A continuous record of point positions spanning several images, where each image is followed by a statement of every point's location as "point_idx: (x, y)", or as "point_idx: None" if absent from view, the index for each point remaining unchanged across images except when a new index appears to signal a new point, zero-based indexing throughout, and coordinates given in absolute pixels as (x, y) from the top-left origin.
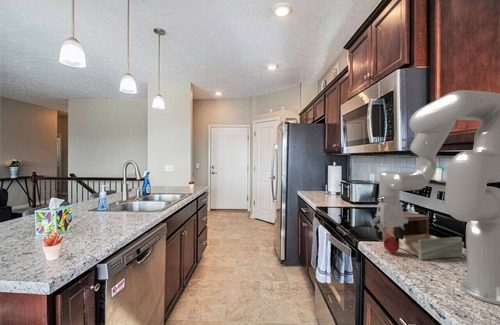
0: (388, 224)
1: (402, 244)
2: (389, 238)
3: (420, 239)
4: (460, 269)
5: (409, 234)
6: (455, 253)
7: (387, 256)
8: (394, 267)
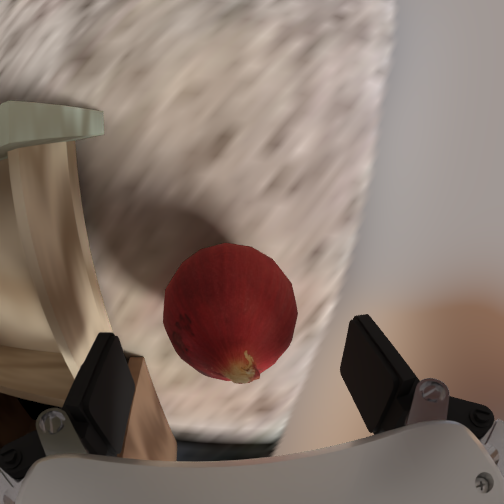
0: (407, 477)
1: None
2: (264, 344)
3: None
4: (17, 10)
5: (25, 430)
6: None
7: (296, 224)
8: (376, 52)
